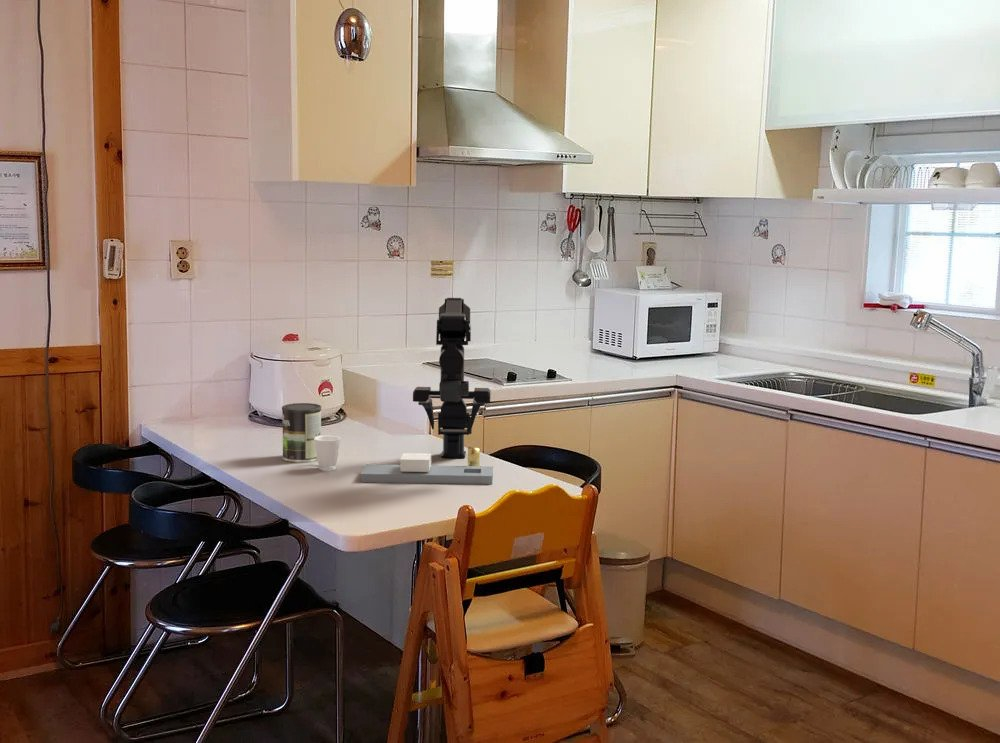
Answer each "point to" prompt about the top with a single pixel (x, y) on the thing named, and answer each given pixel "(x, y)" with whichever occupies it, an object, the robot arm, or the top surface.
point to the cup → (327, 451)
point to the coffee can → (300, 431)
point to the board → (429, 474)
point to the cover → (415, 462)
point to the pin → (473, 456)
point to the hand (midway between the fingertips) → (451, 429)
